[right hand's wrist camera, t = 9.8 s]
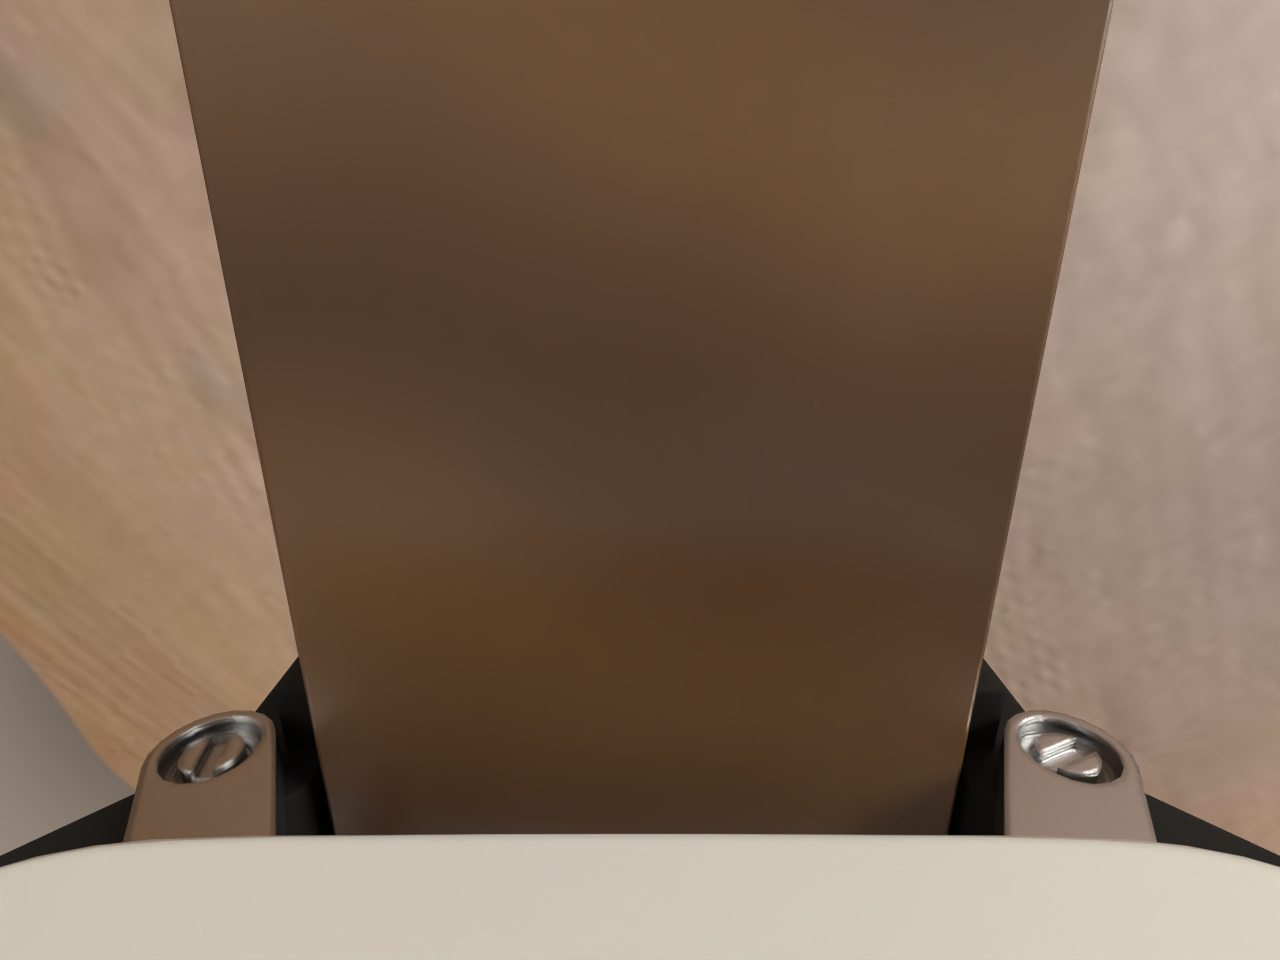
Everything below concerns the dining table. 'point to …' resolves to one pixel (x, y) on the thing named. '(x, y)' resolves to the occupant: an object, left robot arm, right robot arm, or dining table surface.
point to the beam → (641, 387)
